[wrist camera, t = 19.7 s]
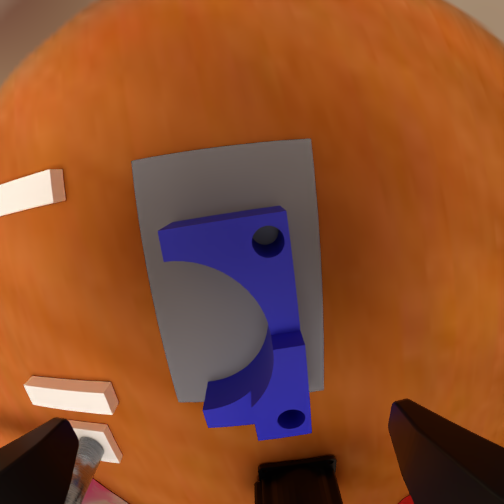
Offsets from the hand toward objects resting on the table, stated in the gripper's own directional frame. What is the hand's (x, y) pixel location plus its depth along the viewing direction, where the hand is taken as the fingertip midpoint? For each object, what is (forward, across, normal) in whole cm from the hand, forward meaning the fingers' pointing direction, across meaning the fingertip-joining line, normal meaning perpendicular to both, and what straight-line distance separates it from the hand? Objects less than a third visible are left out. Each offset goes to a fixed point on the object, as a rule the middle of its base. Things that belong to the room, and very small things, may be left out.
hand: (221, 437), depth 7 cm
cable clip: (+9, -3, +2) cm, 10 cm away
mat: (+12, 0, 0) cm, 12 cm away
